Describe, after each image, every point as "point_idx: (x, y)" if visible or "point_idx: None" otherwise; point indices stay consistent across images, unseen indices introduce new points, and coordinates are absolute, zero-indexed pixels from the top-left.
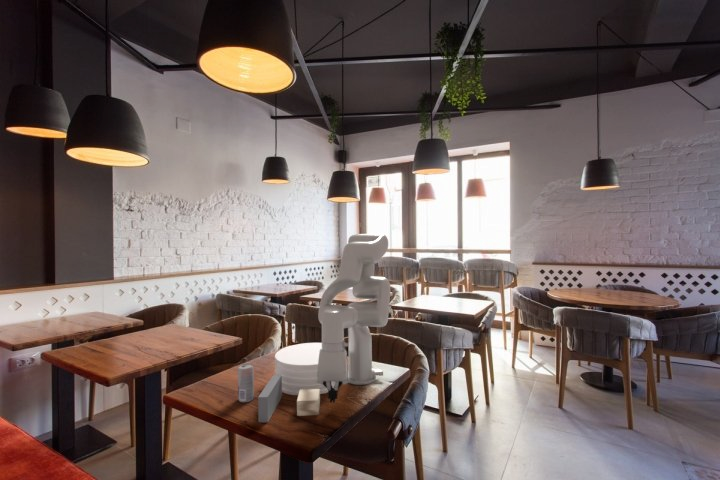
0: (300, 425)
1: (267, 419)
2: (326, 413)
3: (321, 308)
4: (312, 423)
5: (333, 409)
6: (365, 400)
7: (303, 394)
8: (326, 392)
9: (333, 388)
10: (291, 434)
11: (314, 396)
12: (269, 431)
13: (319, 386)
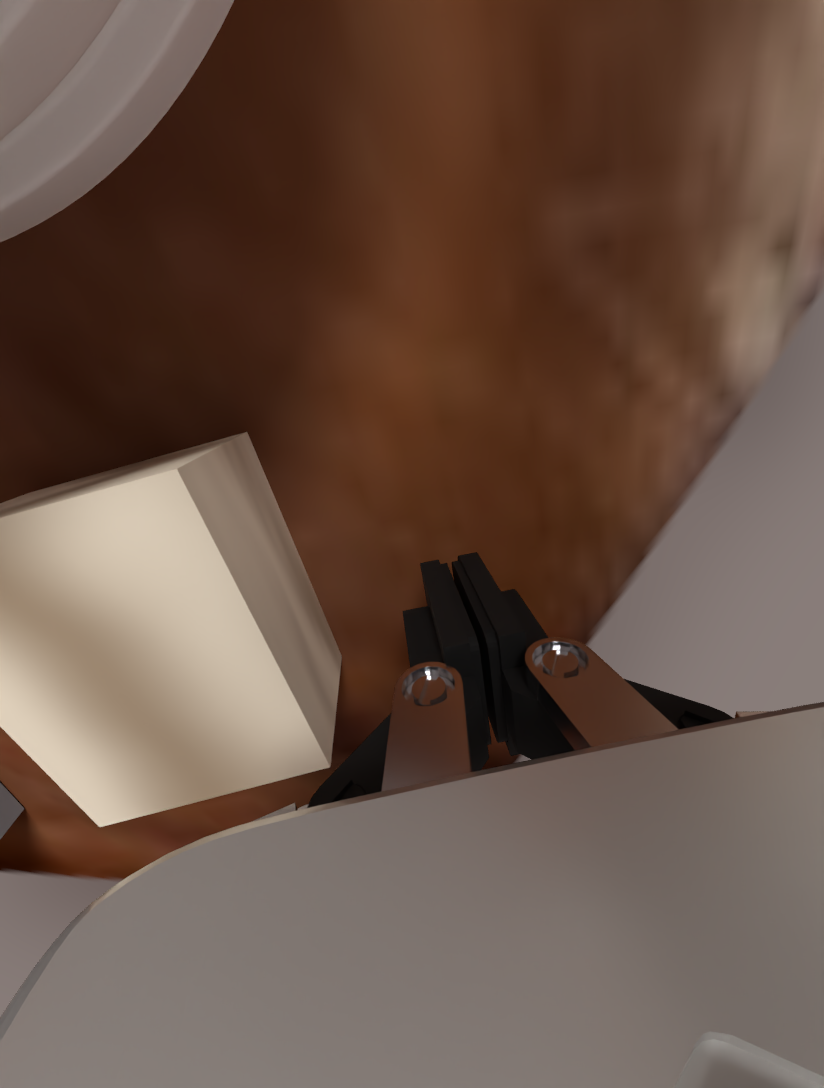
0: (276, 786)
1: (4, 829)
2: (400, 626)
3: None
4: (345, 754)
5: (442, 554)
6: (770, 289)
7: (52, 695)
8: (192, 71)
9: (516, 747)
10: None
11: (238, 708)
12: (124, 864)
13: (15, 93)
